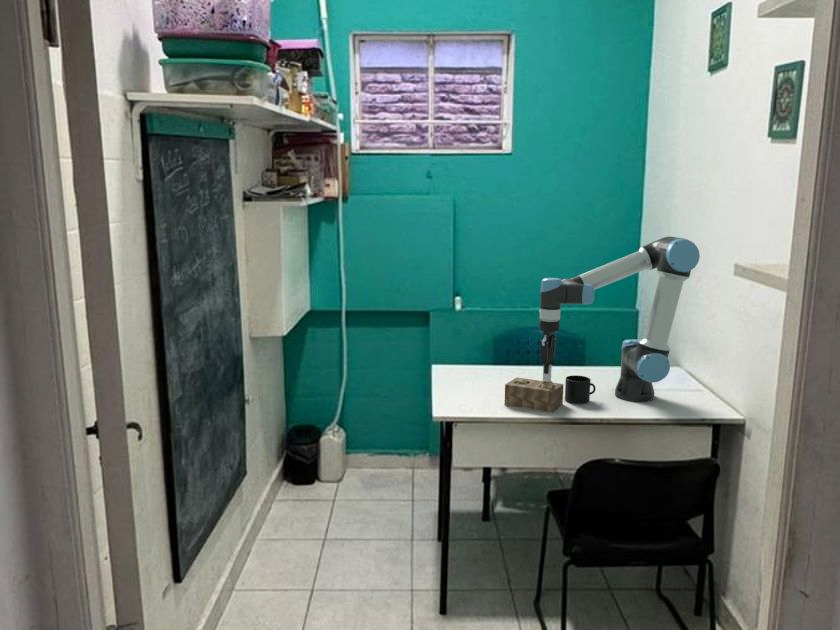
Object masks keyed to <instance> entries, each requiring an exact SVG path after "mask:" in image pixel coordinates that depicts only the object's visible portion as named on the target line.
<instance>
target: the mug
mask: <svg viewBox="0 0 840 630" xmlns="http://www.w3.org/2000/svg"><path fill="white" fill-rule="evenodd" d="M591 381H592V380H591V378H590V377H588V376H584V375H575V374H574V375H568V376H566V377H565V383H564V384H565V385H564V386H565V388H564V401H565V402H567V403H570V404H574V405H585V404H588V403H589V402H590V395H593V394H594V393H595V392H596V385H595V384H594V383H593V382H591ZM591 386H592V389H593V390H592V391H591Z"/></svg>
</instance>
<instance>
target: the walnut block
mask: <svg viewBox="0 0 840 630" xmlns="http://www.w3.org/2000/svg"><path fill="white" fill-rule="evenodd" d="M517 380H527V385H522V384H517ZM542 381H543V380H538V379H537V380H536V379H531V378H530V379H529V378H523V377H518V376H517V377H515V378H514V379H512V380H510V381H508V382H507V383H505V384H504V405H505V406H509V407H510V406H511V407H517V408H522V409H529V410H535V411H542V412H546V413H554V412H555V411H556V410H557V409H559V408H560V407H561V406H562V405H564V404H563V403H564V402H563V401H564V383H558V382H553V384H552V389H549V388H542Z"/></svg>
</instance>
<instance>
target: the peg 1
mask: <svg viewBox="0 0 840 630" xmlns="http://www.w3.org/2000/svg"><path fill="white" fill-rule="evenodd" d="M517 384H522V385H527V380H517Z"/></svg>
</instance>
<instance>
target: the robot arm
mask: <svg viewBox="0 0 840 630" xmlns="http://www.w3.org/2000/svg"><path fill="white" fill-rule="evenodd" d="M700 254H701V253H700V250H699V248H698V246H697V245H696V244H695V242H693V241H692V240H689V239H687V238H684V237H676V236H666V237H665V236H664V237H661V238H659V239H657V240H655V241H652V242H650V243H648V244H646V245H642V246H640V248H639V249H638V251H635V252H632V253H631V254H627V255H626V256H625V255H624V257H620V258H618V259H616V260H613V261H610V262H608V263H606V264H604V265H601V266H598V267H596V268H594V269H591V270H589V271H586V272H584V273H581V274H579V275H576V276H574V277H571V278H564V279H561V278H557V277H545V278H543V279H542V280H541V282H540V291H539V293H540V298H539V299H540V300H539V301H540V302H539V310H538V312H539V321H538V324H539V325H538V329H539V331H542V332H543V333H542V337H541V340H540V341H539V345H540V360H541V361H540V365H543V367H542V371H543V372H542V381H545V382H551V381H552V368H553V367H552V365H554V364H555V362H554V361H555V354H556V345H557V339H558V335H556V332H558V331H560V325H561V321H560V319H561V305H583V306H584V305H591V304H593V302H594V300H595V290H597V289H600V288H603V287H605V286H607V285H610V284H612V283H615V282H617V281H621V280H623V279H625V278H627V277H629V276H632V275H634V274H635V275H636V274H637V273H640V272H642V271H645V270H648V271H651V270H653V269H656V273H657V274H658V276H659V278H658V281H657V284H656V290H655V292H654V297H653V301H652V304H651V307H650V312H649V317H648V320H647V325H646V327H645V332H644V335H643V338H641V339H634V338H633V339H625V340H623V341H622V346H621V359H620V360H621V361H620V362H621V363H620V376H619V378H618V382H617V383H616V387H615V389H614V395H615V397H617V398H618V399H621V400H625V401H629V402H630V401H631V402H649V401H648V400H650V401H652V400H651V399H653V398H654V399H655V389H654V385H653V383H658V382H661V381H662V380H664V379H665V378H666V377H667V376H668V375H669V373H670V369H671V363H670V360H669V359H668V358H669V355H670V351H671V348H670V347H669V344H668V340H669V337H670V333H671V332H672V331H671V330H672V327H673V323H674V319H675V315H676V311H677V309H678V304H679V300H680V296H681V293H682V289H683V285H684V282H685V281H686V280H688V279H690V277H691V276H690V275H691V272H692V270H694V268H696V267H697V265H698V264H699V262H700V257H701V256H700ZM654 399H653V400H654Z"/></svg>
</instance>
